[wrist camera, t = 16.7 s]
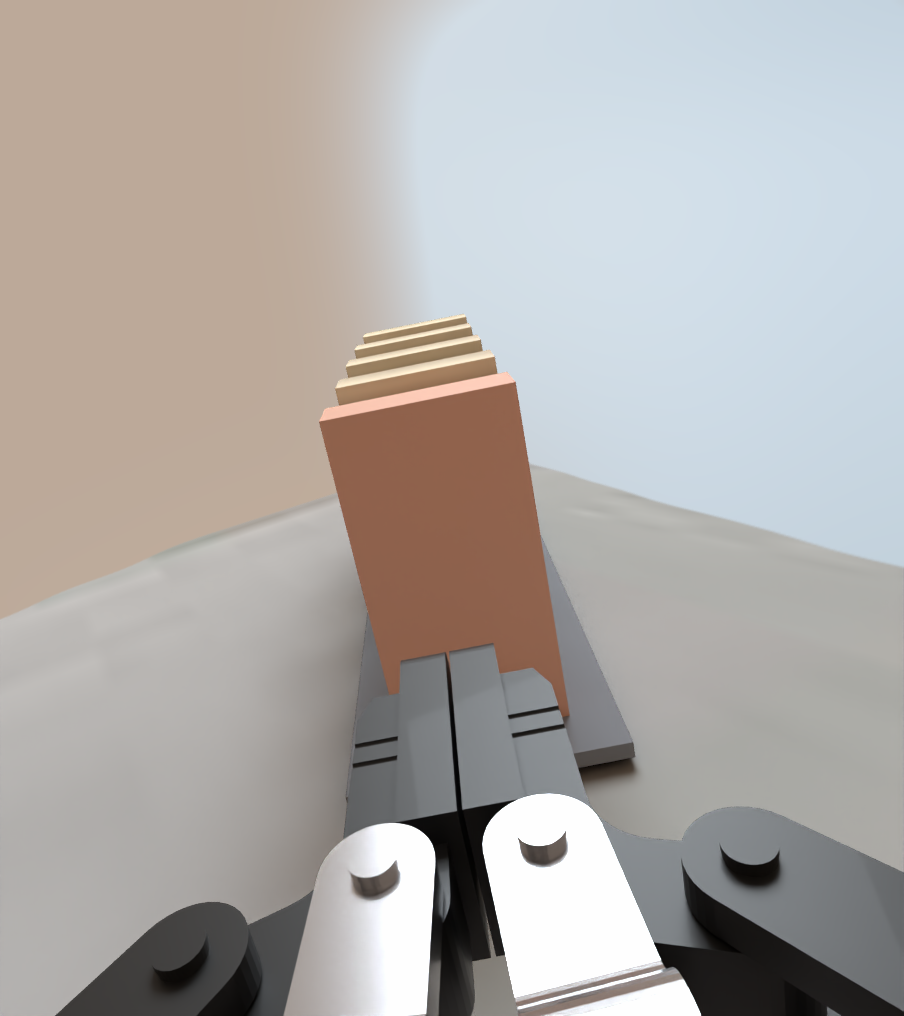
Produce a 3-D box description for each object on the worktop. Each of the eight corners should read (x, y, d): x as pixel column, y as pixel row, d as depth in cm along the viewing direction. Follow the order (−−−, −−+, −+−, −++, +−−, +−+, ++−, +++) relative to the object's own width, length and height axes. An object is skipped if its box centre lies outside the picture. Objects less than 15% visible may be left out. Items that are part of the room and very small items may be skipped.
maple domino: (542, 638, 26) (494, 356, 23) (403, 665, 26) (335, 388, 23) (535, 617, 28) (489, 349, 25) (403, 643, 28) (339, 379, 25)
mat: (635, 757, 21) (632, 742, 20) (349, 811, 21) (345, 797, 21) (520, 494, 42) (518, 486, 42) (381, 521, 42) (379, 513, 42)
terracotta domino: (569, 715, 22) (515, 382, 19) (403, 748, 22) (319, 421, 19) (558, 685, 24) (506, 371, 20) (402, 716, 24) (325, 408, 20)
